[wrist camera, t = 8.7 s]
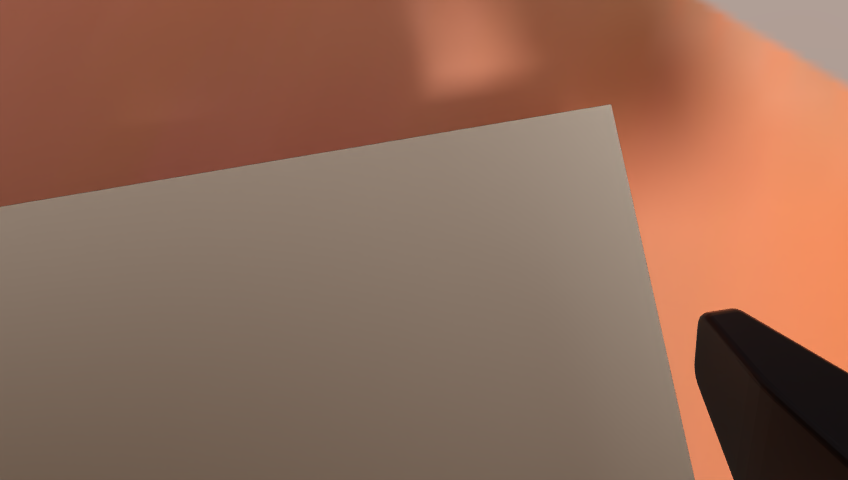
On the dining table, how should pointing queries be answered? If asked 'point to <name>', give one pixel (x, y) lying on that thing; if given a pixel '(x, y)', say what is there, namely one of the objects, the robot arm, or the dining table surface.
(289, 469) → the square peg
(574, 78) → the dining table surface
